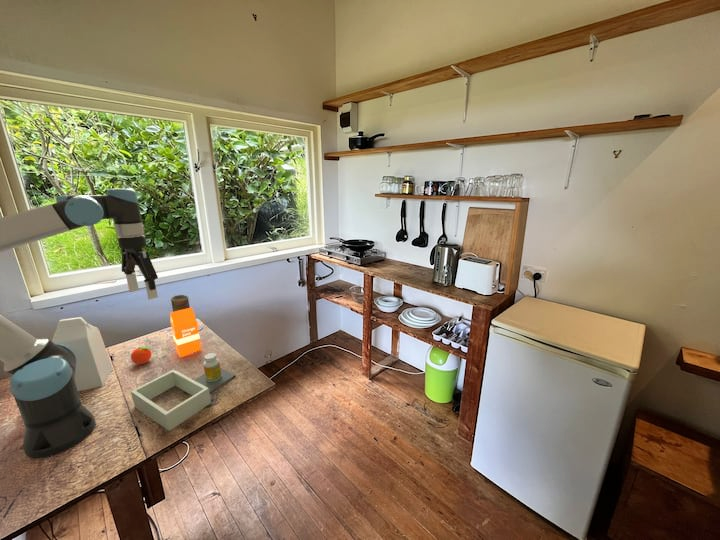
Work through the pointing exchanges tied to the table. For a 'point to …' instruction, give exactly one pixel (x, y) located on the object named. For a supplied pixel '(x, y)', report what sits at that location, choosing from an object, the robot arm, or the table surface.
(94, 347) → the milk
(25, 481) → the table surface
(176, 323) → the orange juice
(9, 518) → the table surface
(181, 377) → the open box
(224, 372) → the slate mat
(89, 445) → the table surface
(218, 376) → the supplement bottle
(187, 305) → the brown rounded bar
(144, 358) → the clementine
